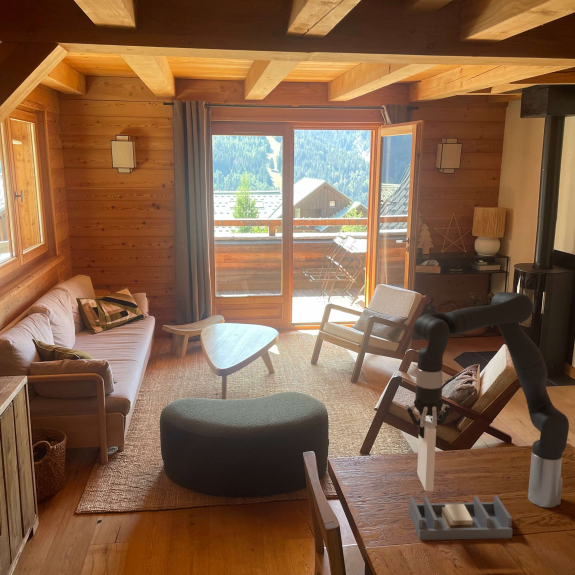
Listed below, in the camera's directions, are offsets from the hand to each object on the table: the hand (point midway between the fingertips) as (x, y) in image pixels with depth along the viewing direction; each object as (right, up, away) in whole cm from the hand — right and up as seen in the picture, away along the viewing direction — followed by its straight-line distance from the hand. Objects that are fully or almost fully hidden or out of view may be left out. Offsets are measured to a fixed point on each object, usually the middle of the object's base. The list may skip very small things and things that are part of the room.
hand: (426, 436), depth 173 cm
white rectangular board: (0, -15, +3) cm, 15 cm away
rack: (+11, -30, +7) cm, 33 cm away
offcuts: (+11, -29, +7) cm, 32 cm away
